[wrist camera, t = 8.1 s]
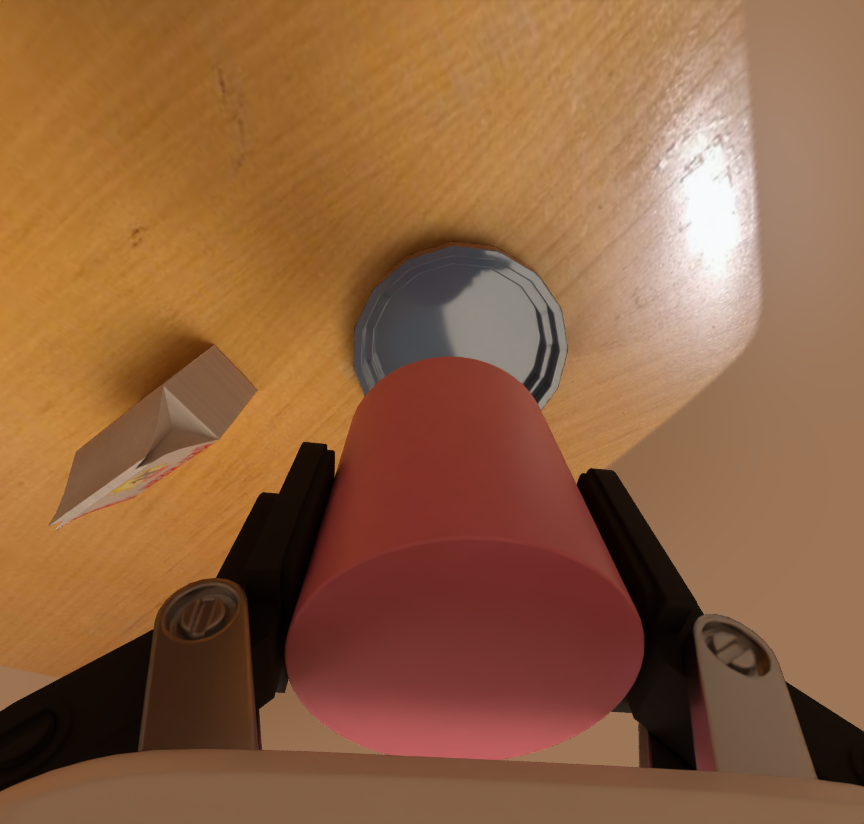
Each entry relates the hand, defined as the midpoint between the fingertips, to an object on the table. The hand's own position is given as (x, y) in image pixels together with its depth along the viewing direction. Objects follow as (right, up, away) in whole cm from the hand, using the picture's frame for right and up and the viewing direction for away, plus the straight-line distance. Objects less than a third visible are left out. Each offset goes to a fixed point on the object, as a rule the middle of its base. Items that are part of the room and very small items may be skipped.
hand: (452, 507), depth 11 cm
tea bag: (-15, +4, +18) cm, 24 cm away
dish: (+1, +6, +16) cm, 17 cm away
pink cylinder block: (0, +1, +2) cm, 3 cm away
